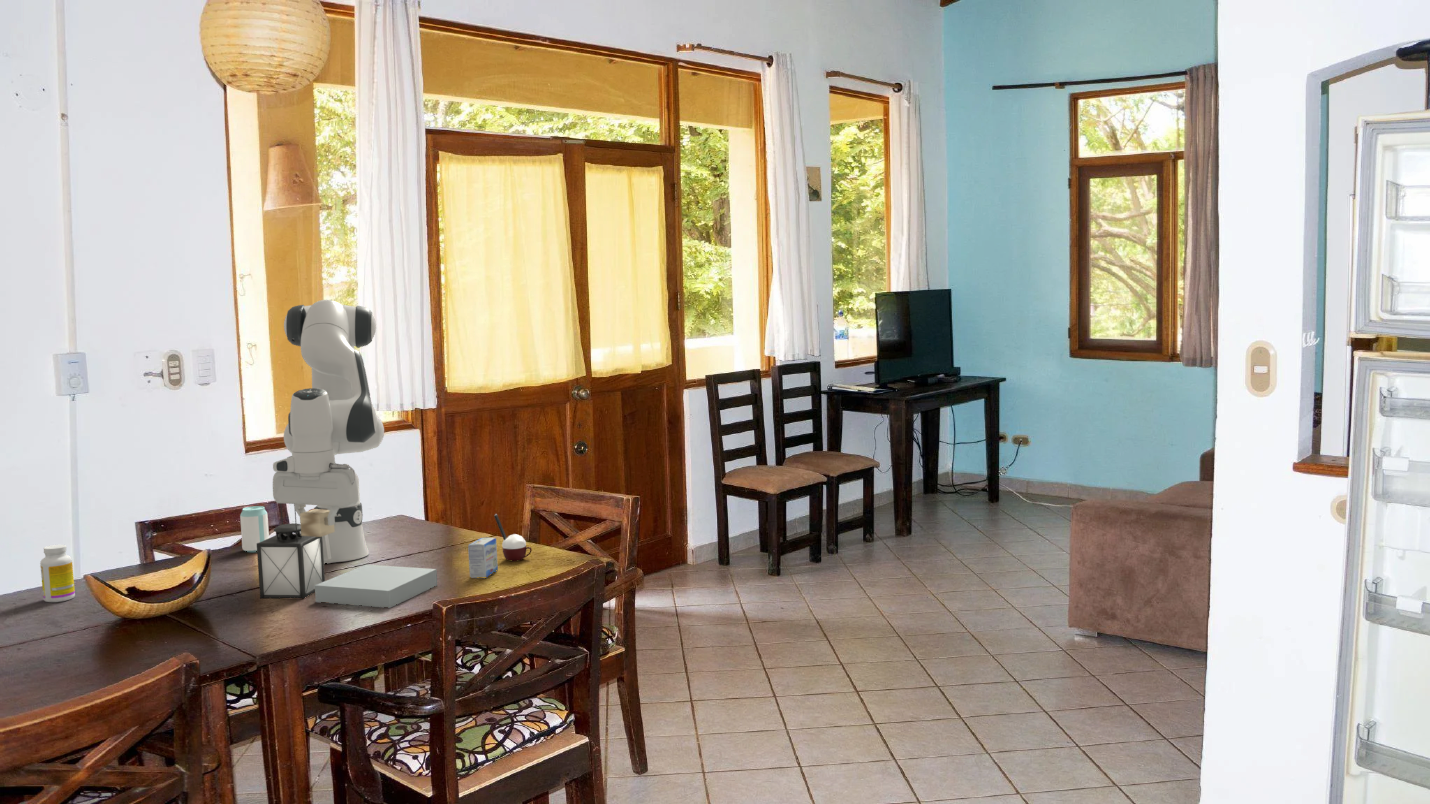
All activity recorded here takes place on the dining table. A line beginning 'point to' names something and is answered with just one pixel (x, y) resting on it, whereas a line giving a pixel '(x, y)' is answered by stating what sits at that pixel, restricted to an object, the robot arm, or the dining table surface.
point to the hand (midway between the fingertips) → (317, 524)
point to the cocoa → (513, 545)
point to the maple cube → (315, 523)
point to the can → (253, 527)
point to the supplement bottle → (57, 574)
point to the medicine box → (482, 557)
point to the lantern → (290, 563)
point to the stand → (376, 585)
